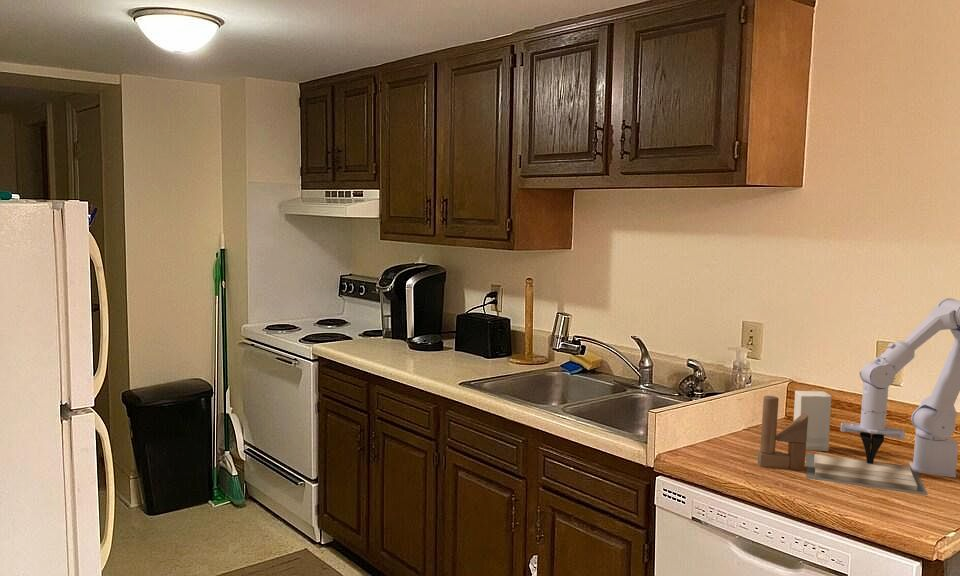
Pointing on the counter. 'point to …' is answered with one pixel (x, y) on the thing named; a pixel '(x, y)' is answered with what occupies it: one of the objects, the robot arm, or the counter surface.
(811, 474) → the underlay mat
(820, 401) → the skincare box
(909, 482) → the laid plank
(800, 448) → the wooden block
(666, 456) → the counter surface
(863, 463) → the loose plank
